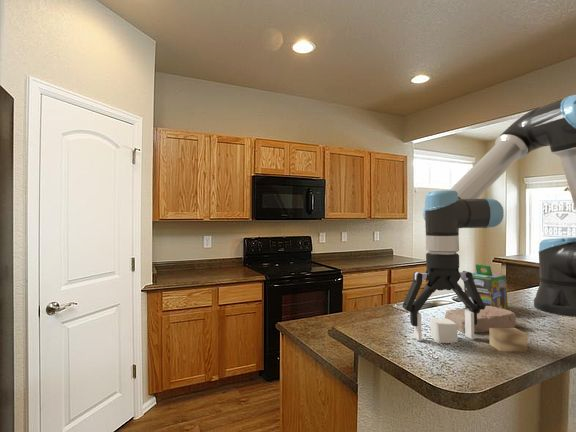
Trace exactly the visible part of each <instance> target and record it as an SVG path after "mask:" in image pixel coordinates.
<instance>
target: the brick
mask: <svg viewBox="0 0 576 432" xmlns="http://www.w3.org/2000/svg"><path fill="white" fill-rule="evenodd" d="M465 310H469V309H465V308H455V309H450V310H449V309H448V310H445V315H444V319H449V320H451V321H453V322H454V323H456V324H457V330H458V331H457V332H459V331H460V332H459V333H461V332H462V334H465ZM516 320H517V319H516V313H515V312H513V311H512V310H509V309H508V310H505V309H501V308H497V307H493V306H485V309H484V310H482V309H481V310H480V312H479V313H477V325H474V332H476V333H482V332H484V333H485V332H489V328H515V326H516Z"/></svg>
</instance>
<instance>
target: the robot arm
mask: <svg viewBox="0 0 576 432" xmlns="http://www.w3.org/2000/svg"><path fill="white" fill-rule="evenodd" d="M544 147H549V148H550V152H551V154H553V155H556V156H559V158H560V161H561V165H562V167H563V171H564V174H565V177H566V182H567V185H568V188H569V193H570V195H571V198H572V202H573V206H574V209H575V210H576V94H573V95H568V96H566V97H565V98H562V99H560V100H559V99H558V100H556V101H554V102H551V103H547V104H546V105H543V106H541V107H536V108H534V109H531V110H529V111H528V112H526V113H525V114H523V115H522V116H520V117H519V118H517V120H515V121H514V122H513V123H512V124H510V126H509V127H507V128H506V129H505V130H504V131H503V132H502V133H501V134H500V135H499V136H498V137H497V138H496V139H495V142H494V146H493V147H492V148H491V149H489V151H488V152H486V153H485V155H483V157H482V158H480V159H479V160H478V161H477V162H476V163H475V164H474V165H473V166H472V167H471V168H470V169H469V170H468V171H467V172H466V173H465V174H464V175H463V176H462V177H461V178H460V179H459V180H458V181H457V182H456V183H455V184H454V185H452V187H451V188H450V189H448V190H447V189H446V190H444V189H443V190H433V191H429V192H427V193H426V194H425V198H424V208H423V211H422V216H423V219H424V221H425V226H424V227H425V250H426V251H427V252H426V253H425V266H426V271H425V272H418V271H414V272H413V279H412V282H411V284H410V287H409V289H408V291H407V293H406V296H405V298H404V301H403V303H402V306H401V308H403V310H404V311H406V312H409V315H410V316H409V319H410V323H409V324H410V325H411V326H412V327H413V337H414V339H416V340H417V341H419V342H421V341H422V338H423V337H422V333H423V332H422V314H421V313H420V310H421V308H422V307H424V305H425V303H426V302H427V301H428V300H429V299H430V297H431V296H432V295H433V294H434V293H435V292H436V291H444V290H445V291H453V292H454V293H455V294H456V296H457V297H458V298H459V299H460V301H461V302H462V303H463V304H464V307H465V306H466V307H467V308H468V309H469V310H465V333H464V334H465V337H467V338H468V339H470V340H475V333H474V325H477V313H479V312H480V310H481V309H482V310H484V309H485V305H484V303H483V301H482V299H481V297H480V295H479V293H478V291H477V289H476V286H475V284H474V282H473V276H472V273H473V272H471V271H468V270H463V271H462V272H460V255H459V254H458V253H457V252H460V237H459V236H460V235H459V232H460V229H487V228H489V229H490V228H496V227H497V226H499V225H500V224H501V222H503V219H504V207H503V204H501V202H500V201H498V200H496V199H494V198H493V199H492V198H486V197H484V198H480V197H481V196H482V195H483V194H484V193H486V191H487V190H488V189H489V188H490V187H491V186H492V185H494V183H496V181H497V180H498V179H499V178H500V177H501V176H502V175H504V173H505V172H506V171H507V170H508V169H509V168H510V167H511V166H513V164H514V163H515V162H516V161H517V160H518V161H519V160H522V159H524V158H525V157H526V156H527V155H528V154H530V153H531V152H533V151H535V150H538V149H540V148H544ZM538 247H539V248H538V260H539V261H538V262H539V266H538V267H539V268H538V269H539V286H538V288H537V292H536V293H535V297H534V299H533V307H534V308H535V309H537V310H540V311H543V312H547V313H551V314H557V315H562V316H569V317H576V237H562V238H544V239H543V240H541V241H540V242H539V245H538ZM425 279H426V280H427V282H426V283H425V285H424V286H423V287H424V288H423V289H422V290H421V292H420V289H421V287H422V283H423V282H424V281H425ZM460 279H461V280H462V281H463V285H464V284H465V286H466V288H467V290H468V293H469V295H470V297H471V299H472V301H473V302H472V301H471V300H470V299H469V297H468V296H467V295H466V294H465V293H464V290H463V288H462V287H461V286H460V284H459V283H458V282H459V280H460ZM419 292H420V293H419ZM473 303H474V304H473Z"/></svg>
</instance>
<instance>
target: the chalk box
mask: <svg viewBox="0 0 576 432" xmlns="http://www.w3.org/2000/svg"><path fill="white" fill-rule="evenodd" d="M475 269H476V270H475V271H476V272H471V273H472V276H473V282H474V284H475V286H476V289H477V291H478V293H479V295H480V297H481V299H482V301H483V303H484V305H485V306H493V307H497V308H501V309H505V310H509V304H508V303H509V302H508V291H507V290H508V287H507V275H506V274H501V273H493V272H492V268H491V266H490V265H487V264H479V263H478V264H475ZM482 269H485V270H486V271H485V272H484V271H482ZM463 289H464V290H463V291H464V293H465V294H466V295H467V296H468V297H469V299H470V300H471V301H472V299H471V297H470V295H469V293H468V290H467V288H466V286H465V284H464V283H463ZM472 302H473V301H472ZM473 304H474V303H473ZM464 309H468V308H467V307H466V306H465V305H464Z"/></svg>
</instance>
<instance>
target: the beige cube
mask: <svg viewBox="0 0 576 432" xmlns="http://www.w3.org/2000/svg"><path fill="white" fill-rule="evenodd" d="M429 320H430V321H429V322H430V337H431V338H432V339H434V340H435V341H436V342H437V343H438V344H448V343H449V344H450V343H453V344H454V342H455V343H458V341H459V340H458V339H459V338H458V331H457V324H456V323H454V322H453V321H451V320H449V319H445V318H430V319H429Z"/></svg>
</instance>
